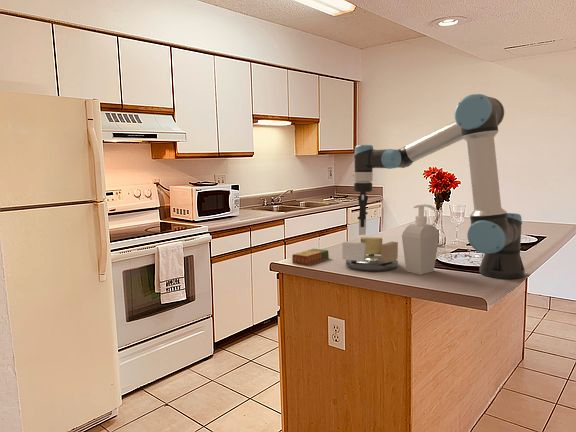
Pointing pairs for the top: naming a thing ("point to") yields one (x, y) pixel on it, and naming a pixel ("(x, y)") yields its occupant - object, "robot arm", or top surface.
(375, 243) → the olive yellow block
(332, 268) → the top surface
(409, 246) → the soap bottle
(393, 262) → the dark grey plate
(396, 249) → the tan rectangular block
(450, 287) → the top surface
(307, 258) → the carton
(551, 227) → the top surface
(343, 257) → the knob
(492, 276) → the robot arm
